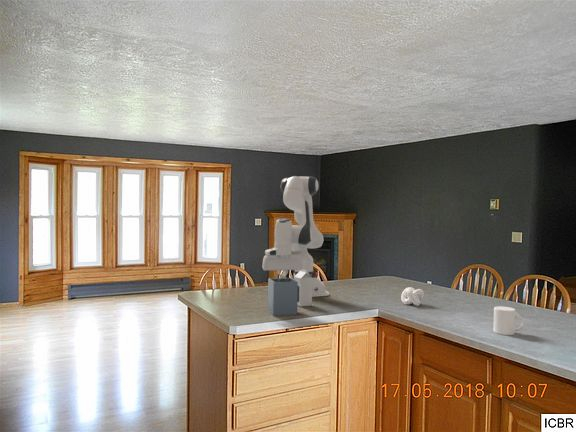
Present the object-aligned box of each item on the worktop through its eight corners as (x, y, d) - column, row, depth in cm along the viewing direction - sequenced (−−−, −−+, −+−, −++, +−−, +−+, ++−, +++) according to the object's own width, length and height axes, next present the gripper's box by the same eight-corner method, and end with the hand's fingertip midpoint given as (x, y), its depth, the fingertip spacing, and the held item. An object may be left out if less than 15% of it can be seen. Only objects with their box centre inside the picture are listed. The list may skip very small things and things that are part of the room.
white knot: (416, 302, 251) (416, 286, 250) (429, 306, 239) (429, 289, 239) (398, 303, 247) (398, 286, 247) (410, 307, 236) (411, 290, 236)
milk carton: (300, 306, 233) (300, 270, 233) (293, 304, 240) (294, 269, 239) (311, 305, 237) (312, 270, 236) (305, 303, 243) (305, 268, 243)
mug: (491, 305, 194) (521, 307, 191) (491, 329, 194) (521, 331, 191) (496, 309, 186) (527, 311, 183) (495, 334, 186) (527, 336, 183)
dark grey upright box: (295, 308, 229) (295, 277, 228) (301, 314, 217) (302, 281, 217) (267, 310, 225) (268, 278, 225) (273, 315, 213) (273, 282, 213)
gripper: (301, 250, 226) (300, 277, 226) (261, 250, 221) (261, 278, 221) (305, 251, 220) (304, 279, 220) (264, 251, 214) (263, 280, 215)
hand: (282, 279), depth 220 cm, fingers closed, pressing on plunger
